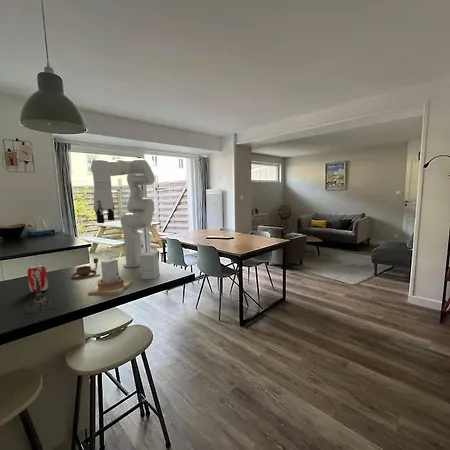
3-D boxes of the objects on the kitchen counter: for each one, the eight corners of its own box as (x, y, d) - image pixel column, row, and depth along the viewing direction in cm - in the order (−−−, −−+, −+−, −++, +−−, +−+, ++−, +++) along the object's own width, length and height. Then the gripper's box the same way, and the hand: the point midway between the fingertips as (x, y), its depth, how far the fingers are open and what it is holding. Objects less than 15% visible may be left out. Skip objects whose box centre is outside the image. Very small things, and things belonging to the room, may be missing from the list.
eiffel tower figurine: (21, 305, 109) (16, 274, 107) (50, 298, 115) (46, 268, 114) (26, 317, 98) (21, 283, 96) (57, 308, 105) (53, 276, 103)
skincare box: (109, 288, 119) (106, 262, 118) (102, 287, 122) (100, 261, 120) (120, 284, 125) (118, 259, 123) (113, 282, 127) (111, 258, 125)
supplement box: (160, 274, 141) (158, 251, 139) (155, 279, 134) (153, 255, 132) (146, 274, 142) (144, 251, 140) (140, 279, 134) (139, 255, 133)
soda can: (28, 295, 118) (25, 269, 116) (31, 290, 124) (28, 265, 122) (47, 292, 121) (44, 266, 119) (49, 287, 127) (46, 262, 125)
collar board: (104, 283, 130) (104, 274, 130) (132, 283, 129) (131, 274, 129) (88, 294, 116) (87, 285, 116) (118, 294, 115) (118, 285, 115)
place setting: (63, 277, 142) (62, 267, 141) (96, 267, 159) (95, 257, 159) (84, 282, 134) (83, 271, 133) (116, 270, 151) (115, 260, 151)
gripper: (104, 186, 135) (107, 219, 138) (84, 186, 118) (88, 224, 120) (118, 185, 134) (121, 219, 137) (100, 186, 117) (104, 224, 120)
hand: (106, 221), depth 129 cm, fingers open, 9 cm apart
